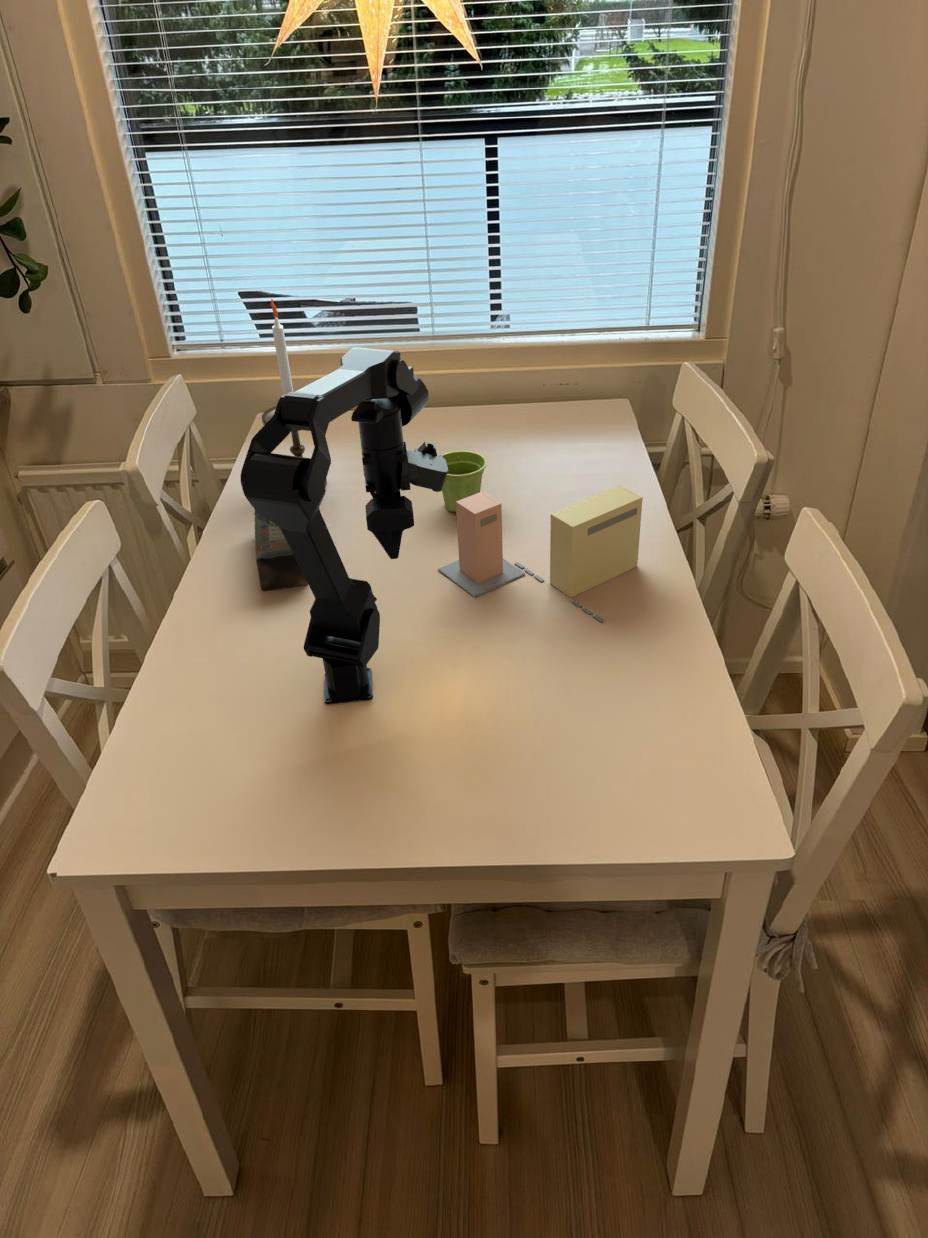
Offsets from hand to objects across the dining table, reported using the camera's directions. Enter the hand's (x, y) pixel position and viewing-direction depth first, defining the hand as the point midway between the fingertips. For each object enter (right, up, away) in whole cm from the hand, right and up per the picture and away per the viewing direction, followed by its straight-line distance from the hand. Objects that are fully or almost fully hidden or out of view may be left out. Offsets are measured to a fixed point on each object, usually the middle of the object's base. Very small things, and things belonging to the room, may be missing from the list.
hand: (392, 541), depth 133 cm
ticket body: (+31, -4, +14) cm, 34 cm away
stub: (+13, -3, +16) cm, 21 cm away
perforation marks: (+25, -7, +11) cm, 28 cm away
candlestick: (-20, +14, +44) cm, 50 cm away
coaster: (+13, -4, +16) cm, 21 cm away
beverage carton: (-20, -1, +23) cm, 30 cm away
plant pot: (+10, +9, +34) cm, 37 cm away
